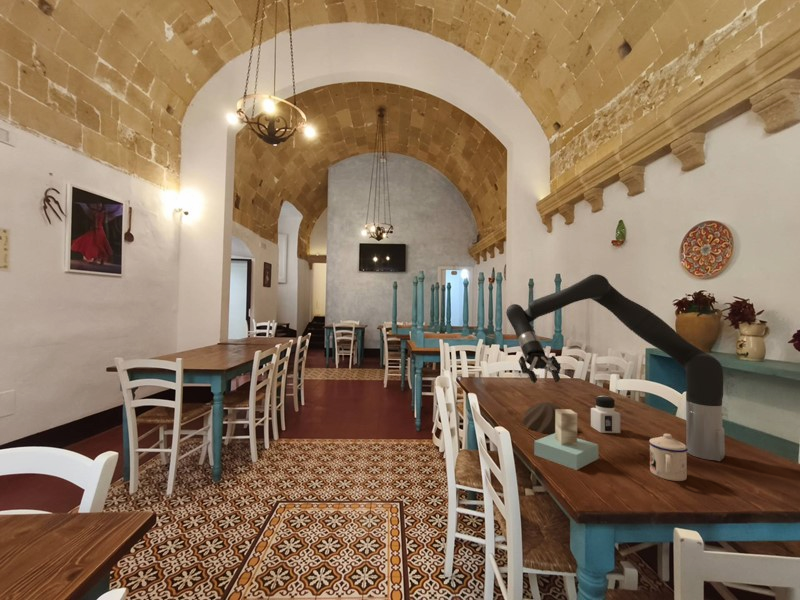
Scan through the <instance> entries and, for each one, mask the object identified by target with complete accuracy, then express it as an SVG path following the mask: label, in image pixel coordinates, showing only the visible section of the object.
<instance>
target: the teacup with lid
mask: <svg viewBox="0 0 800 600" xmlns="http://www.w3.org/2000/svg"><path fill="white" fill-rule="evenodd" d="M648 444H649V470H650V473H651V474H653V475H654V476H656V477H658V478H661V479H663V480H668V481H673V482H683V481H686V480H687V478H688V475H687V474H688V473H687V471H688V470H687V465H688V464H687V460H688V459H687V454H688V452H687V450H688V449H687V447H686V444H685V443H683V442H682V441H679V440H677V439H675V438H673V436H672V434H670V433H663V436H659V437H652V438H650V439H649V441H648Z"/></svg>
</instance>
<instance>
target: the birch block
mask: <svg viewBox="0 0 800 600" xmlns="http://www.w3.org/2000/svg"><path fill="white" fill-rule="evenodd" d="M577 438H578V413H577V412H575V411H574V410H572V409H567V408H565V409H563V408H562V409H555V439H556V440H557V441H558V442H559V443H560V444H561V445H577Z"/></svg>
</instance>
